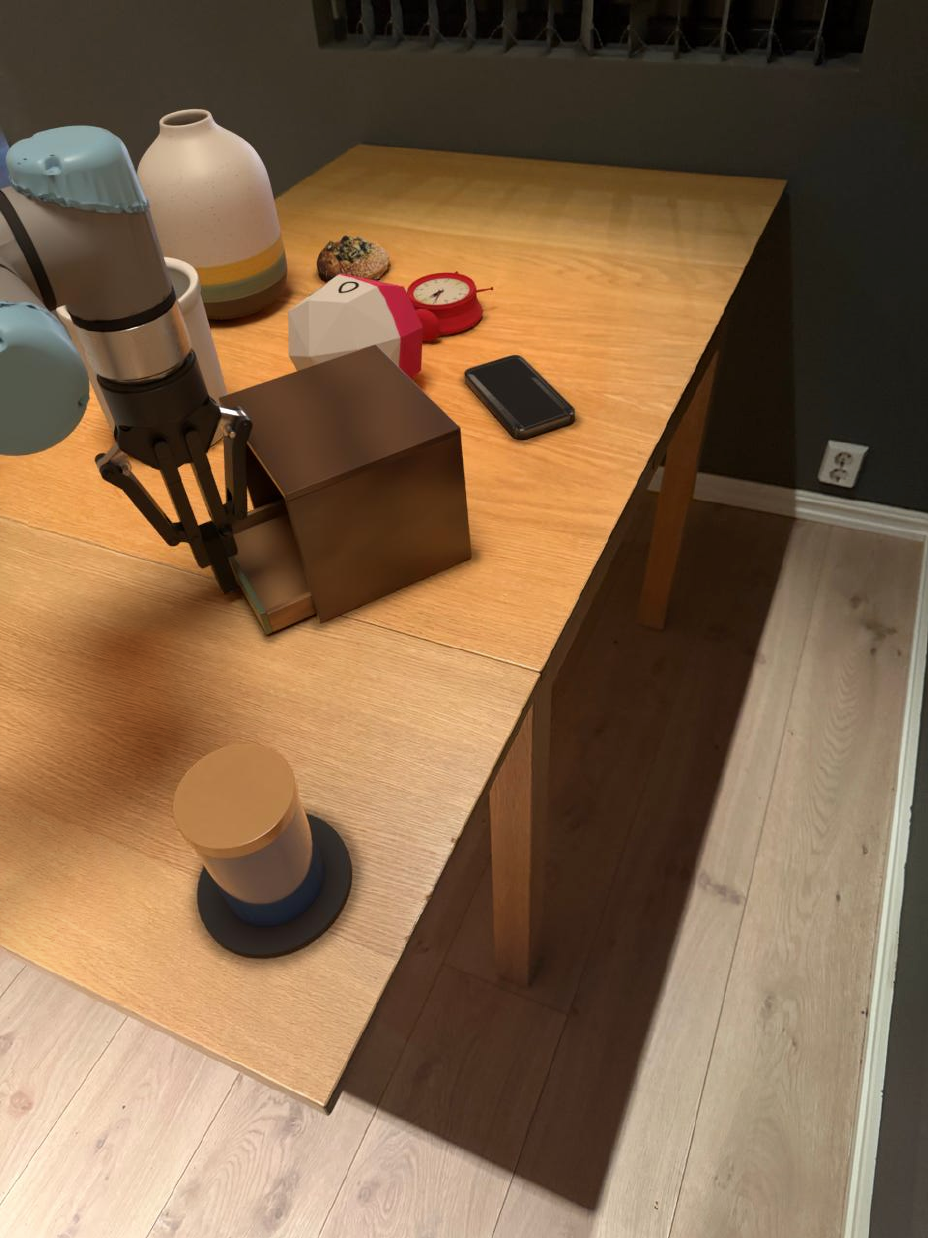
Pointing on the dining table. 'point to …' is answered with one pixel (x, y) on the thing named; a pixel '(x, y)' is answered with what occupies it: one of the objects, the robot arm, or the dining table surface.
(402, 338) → the decorative object
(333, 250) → the bread roll
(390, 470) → the cabinet
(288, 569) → the drawer
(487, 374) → the phone
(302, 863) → the jar
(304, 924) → the coaster
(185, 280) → the utensil holder
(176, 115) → the vase
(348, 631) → the dining table surface
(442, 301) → the alarm clock
